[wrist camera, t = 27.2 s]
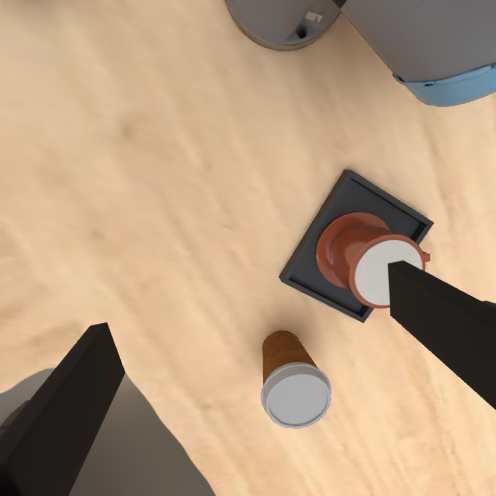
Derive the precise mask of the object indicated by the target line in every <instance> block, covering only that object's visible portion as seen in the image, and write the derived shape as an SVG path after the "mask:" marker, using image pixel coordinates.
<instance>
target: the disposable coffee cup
mask: <svg viewBox="0 0 496 496" xmlns="http://www.w3.org/2000/svg"><path fill="white" fill-rule="evenodd" d="M262 350H263V388H262V392H261V402H262V406H263V408H264V410H265V412H266V413H267V414H268V415H269V416H270V418H271V419H272V420H273V421H274V422H275V423H276V424H278V425H280V426H282V427H285V428H294V429H298V428H304V427H308V426H310V425H312V424H314V423H316V422H317V421H319V420H320V419H321V418H322V417H323V416H324V415H325V414H326V412H327V410H328V408H329V406H330V402H331V385H330V382H329V379H328V378H327V376H326V375H325V373H323V372H322V371H321V370H320V369H319V368H318V367H317V366H316V365H315V363H314V362H313V360H312V359H311V357H310V356H309V354H308V353H307V352H306V350H305V349H304V347H303V346H302V344H301V343H300V342H299V340H298V339H297V337H296V336H295V335H294V334H292V333H290V332H286V331H279V332H275V333H273V334H271V335H270V336H268V337H267V339H266V340H265V341H264V343H263V349H262Z"/></svg>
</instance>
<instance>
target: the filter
mask: <svg viewBox="0 0 496 496" xmlns="http://www.w3.org/2000/svg"><path fill="white" fill-rule="evenodd" d="M315 260H316V264H317V267H318V269H319V271H320V272H321V274H322V275H323V276H324V277H325V278H326V279H327V280H328V281H329V282H331V283H332V284H334V285H336V286H339V287H343V288H347V289H348V290H349V291H350V292H351V293H352V294H353V295H354V296H355V297H356V298H357V299H358V300H359V301H360V302H362V303H363V304H365V305H367V306H369V307H373V308H390V298H389V281H388V263H392V262H397V261H401V260H404V261H406V262H408V263H410V264H412V265H414V266H416V267H417V268H419V269H421V270H423V271H425V262H429V261H430V254H428V253H426V252H424V251H422V250H421V249H420V247H419V246H418V245H417V243H415V242H414V241H413V240H411V239H410V238H408V237H406V236H403V235H401V234H398V233H395V232H393V231H390V230H389V228H388V226H387V225H386V224H385V223H384V221H382V220H381V219H380V218H378V217H377V216H375V215H373V214H370V213H366V212H360V211H355V212H349V213H345V214H342V215H340V216H338V217H336V218H335V219H333V220H332V221H331V222H329V223H328V224H327V225H326V227H325V228H324V229H323V230H322V232H321V233H320V235H319V237H318V240H317V243H316V247H315Z"/></svg>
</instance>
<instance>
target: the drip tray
mask: <svg viewBox="0 0 496 496" xmlns="http://www.w3.org/2000/svg"><path fill="white" fill-rule="evenodd" d="M355 211H360V212H366V213H370V214H373V215H375V216H377V217H378V218H380V219H381V220H382V221H384V223H385V224H386V225H387V226H388V228H389V230H390V231H393V232H395V233H398V234H401V235H403V236H406V237H408V238H410V239H411V240H413V241H414V242H415V243H417V245H419V244H420V242H421V241H422V240H423V238H424V237H425V235H426V234H427V233H428V231H429V230H430V228H431V227H432V225H433V224H434V222H432V221H431V220H429V219H427V218H426V217H424V216H423V215H421V214H420V213H418V212H416V211H415V210H413V209H412V208H410V207H408V206H407V205H405V204H404V203H402V202H401V201H399V200H397V199H396V198H394V197H393V196H391V195H390V194H388V193H386V192H385V191H383V190H382V189H380V188H378V187H377V186H375V185H374V184H372V183H371V182H369V181H367V180H366V179H364V178H363V177H361V176H359V175H358V174H356V173H355V172H353V171H352V170H344V172H343V173H342V175H341V177H340V178H339V180H338V181H337V183H336V185H335V186H334V188H333V190H332V191H331V193H330V195H329V196H328V198H327V199H326V201H325V203H324V204H323V206H322V208H321V209H320V211H319V213H318V214H317V216H316V217H315V219H314V221H313V222H312V224H311V226H310V227H309V229H308V231H307V232H306V234H305V235H304V237H303V239H302V240H301V242H300V244H299V245H298V247H297V249H296V250H295V252H294V253H293V255H292V257H291V258H290V260H289V262H288V263H287V265H286V266H285V268H284V270H283V271H282V273H281V275H280V276H279V278H280V279H281V281H282V282H283V283H285V284H287V285H289V286H291V287H293V288H295V289H297V290H299V291H301V292H303V293H305V294H307V295H309V296H311V297H313V298H315V299H317V300H319V301H321V302H323V303H325V304H327V305H329V306H331V307H333V308H335V309H337V310H338V311H340V312H342V313H344V314H346V315H348V316H350V317H352V318H354V319H356V320H358V321H360V322H362V323H364V322H365V320H366V319H367V318H368V316H369V315H370V313H371V312H372V311H373V309H374V308H373V307H369V306H367V305H365V304H363V303H362V302H360V301H359V300H358V299H357V298H356V297H355V296H354V295H353V294H352V293H351V292H350V291H349V290H348V289H347V288H343V287H339V286H336V285H334V284H332V283H331V282H329V281H328V280H327V279H326V278H325V277H324V276H323V275H322V274H321V272H320V271H319V269H318V267H317V264H316V260H315V247H316V243H317V240H318V237H319V235H320V233H321V232H322V230H323V229H324V228H325V227H326V225H327V224H328V223H329V222H331V221H332V220H333V219H335V218H336V217H338V216H340V215H342V214H345V213H349V212H355Z"/></svg>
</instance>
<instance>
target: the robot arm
mask: <svg viewBox="0 0 496 496" xmlns="http://www.w3.org/2000/svg"><path fill="white" fill-rule="evenodd" d="M225 1H226V4H227V7H228V9H229V12H230V14H231V16H232V17H233V19H234V21H235V22H236V24H237V25H238V27H239V28H240V29H241V30H242V31H243V32H244V33H245V34H246V35H247V36H248V37H249V38H250V39H252V40H253V41H254V42H256V43H258V44H259V45H261V46H264V47H266V48H269V49H273V50H278V51H290V50H296V49H300V48H303V47H305V46H307V45H309V44H311V43H313V42H314V41H316V40H317V39H318V38H320V37H321V36H322V35H323V34H324V33H325V32H326V31H327V30H328V28H329V27H330V26H331V25H332V23H333V22H334V21H335V19H336V18H337V17H338V15H339V14H340V12H342V13H343V14H344V16H345V17H346V18H347V19H348V20H349V21H350V23H351V24H352V25H353V26H354V27H355V28H356V30H357V31H358V32H359V33H360V34H361V36H362V37H363V38H364V39H365V40H366V41H367V43H368V44H369V45H370V46H371V47H372V49H373V50H374V51H375V52H376V53H377V54H378V56H379V57H380V58H381V59H382V60H383V61H384V63H385V64H386V65H387V66H388V67H389V69H390V70H391V71H392V72H393V77H394V78H395V79H396V81H398V82H399V83H401V84H403V85H405V86H406V87H407V88H408V89H409V90H410V91H411V92H412V93H413V94H414V95H415V96H416V98H417V99H418V100H420V101H421V102H423V103H424V104H427V105H433V106H437V107H448V106H455V105H460V104H464V103H468V102H471V101H474V100H477V99H479V98H482V97H485V96H487V95H489V94H492V93H494V92H496V0H225ZM388 281H389V298H390V316H392V317H393V318H394V319H395V320H396V321H397V322H398V323H399V324H401V325H402V326H403V327H404V328H405V329H406V330H407V331H408V332H409V333H411V334H412V335H413V336H414V337H415V338H416V339H417V340H418V341H419V342H421V343H422V344H423V345H424V346H425V347H426V348H427V349H428V350H429V351H431V352H432V353H433V354H434V355H435V356H436V357H437V358H438V359H440V360H441V361H442V362H443V363H444V364H445V365H446V366H447V367H448V368H450V369H451V370H452V371H453V372H454V373H455V374H456V375H457V376H458V377H460V378H461V379H462V380H463V381H464V382H465V383H466V384H467V385H469V386H470V387H471V388H472V389H473V390H474V391H475V392H476V393H477V394H479V395H480V396H481V397H482V398H483V399H484V400H485V401H486V402H487V403H489V404H490V405H491V406H492V407H493V408H494V409H495V410H496V303H492V302H489V301H480V300H478V299H476V298H474V297H472V296H470V295H468V294H467V293H465V292H463V291H461V290H459V289H457V288H455V287H453V286H451V285H450V284H448V283H446V282H444V281H442V280H440V279H438V278H436V277H434V276H433V275H431V274H429V273H427V272H425V271H423V270H421V269H419V268H417V267H416V266H414V265H412V264H410V263H408V262H406V261H404V260H401V261H397V262H392V263H388ZM124 374H125V370H124V368H123V365H122V362H121V359H120V357H119V354H118V351H117V348H116V346H115V343H114V340H113V337H112V335H111V332H110V329H109V326H108V324H107V322H106V323H101V324H96V325H92V326H90V327H89V328H88V329H87V330H86V332H85V333H84V334H83V335H82V336H81V338H80V339H79V340H78V341H77V343H76V344H75V345H74V346H73V348H72V349H71V350H70V351H69V352H68V354H67V355H66V356H65V357H64V359H63V360H62V361H61V362H60V364H59V365H58V366H57V367H56V368H55V370H54V371H53V372H52V373H51V375H50V376H49V377H48V378H47V380H46V381H45V382H44V383H43V385H42V386H41V387H40V388H39V389H38V391H37V392H36V393H35V394H34V396H33V397H32V398H31V399H30V400H28V401H26V402H24V403H23V404H22V405H21V406H20V407H18V408H17V409H16V410H15V411H14V412H12V413H11V414H10V415H9V417H8V418H7V419H6V420H5V421H4V422H3V423H2V425H1V426H0V496H69V493H70V491H71V489H72V487H73V485H74V483H75V481H76V479H77V476H78V474H79V472H80V470H81V468H82V466H83V463H84V461H85V459H86V457H87V455H88V452H89V450H90V448H91V446H92V444H93V442H94V440H95V437H96V435H97V433H98V431H99V429H100V427H101V424H102V422H103V420H104V418H105V416H106V413H107V411H108V409H109V407H110V405H111V402H112V400H113V398H114V396H115V394H116V392H117V390H118V387H119V385H120V383H121V381H122V379H123V377H124Z"/></svg>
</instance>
